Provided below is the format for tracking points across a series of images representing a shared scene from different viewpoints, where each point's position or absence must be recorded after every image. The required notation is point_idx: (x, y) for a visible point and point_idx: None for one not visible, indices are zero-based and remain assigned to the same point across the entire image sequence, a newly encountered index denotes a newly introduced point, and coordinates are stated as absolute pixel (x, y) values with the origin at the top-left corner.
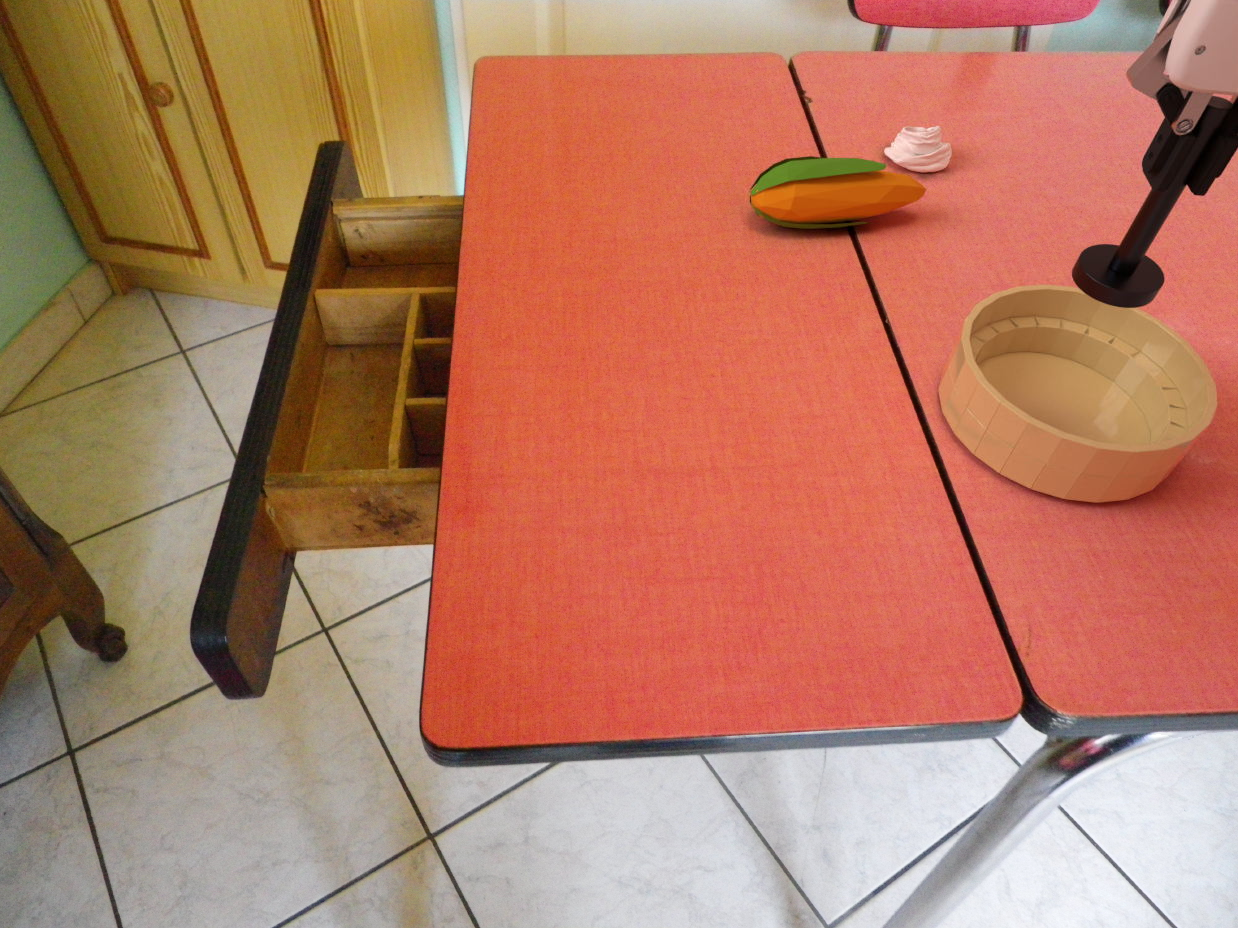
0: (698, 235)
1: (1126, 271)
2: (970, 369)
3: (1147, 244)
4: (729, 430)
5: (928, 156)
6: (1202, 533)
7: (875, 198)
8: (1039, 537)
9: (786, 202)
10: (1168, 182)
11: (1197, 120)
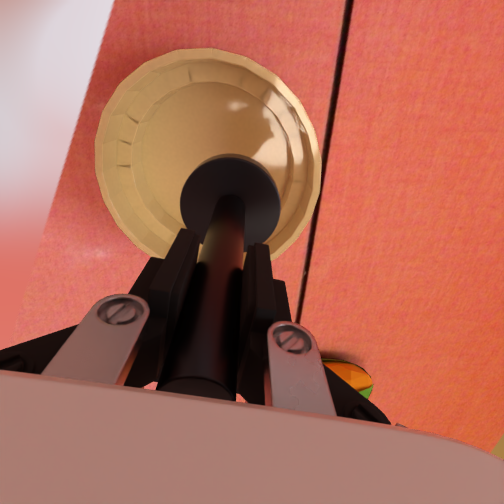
0: (400, 357)
1: (233, 197)
2: (320, 179)
3: (223, 210)
4: (477, 171)
5: None
6: (134, 15)
7: None
8: (282, 25)
9: (354, 376)
10: (256, 251)
11: (270, 349)
